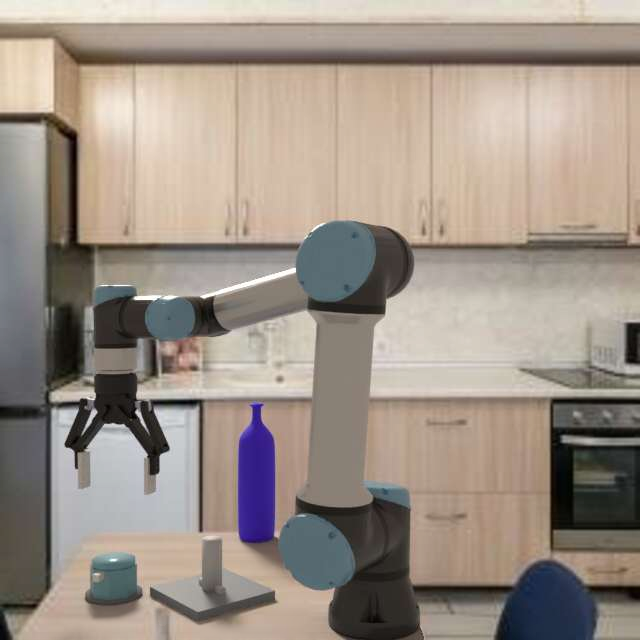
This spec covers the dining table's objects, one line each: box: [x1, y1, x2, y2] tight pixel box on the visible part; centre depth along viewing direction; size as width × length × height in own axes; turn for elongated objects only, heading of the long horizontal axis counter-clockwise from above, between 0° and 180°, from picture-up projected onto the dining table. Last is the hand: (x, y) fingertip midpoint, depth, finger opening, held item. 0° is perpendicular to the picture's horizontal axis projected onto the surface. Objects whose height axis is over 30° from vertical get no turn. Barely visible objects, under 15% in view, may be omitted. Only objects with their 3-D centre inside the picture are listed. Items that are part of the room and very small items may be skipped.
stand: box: [149, 535, 276, 622], centre depth 151 cm, size 16×16×10 cm
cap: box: [89, 551, 138, 600], centre depth 151 cm, size 11×8×6 cm
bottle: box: [237, 402, 276, 543], centre depth 188 cm, size 8×8×30 cm
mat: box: [84, 584, 143, 606], centre depth 152 cm, size 10×10×1 cm
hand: (116, 490), depth 151 cm, fingers open, 13 cm apart
